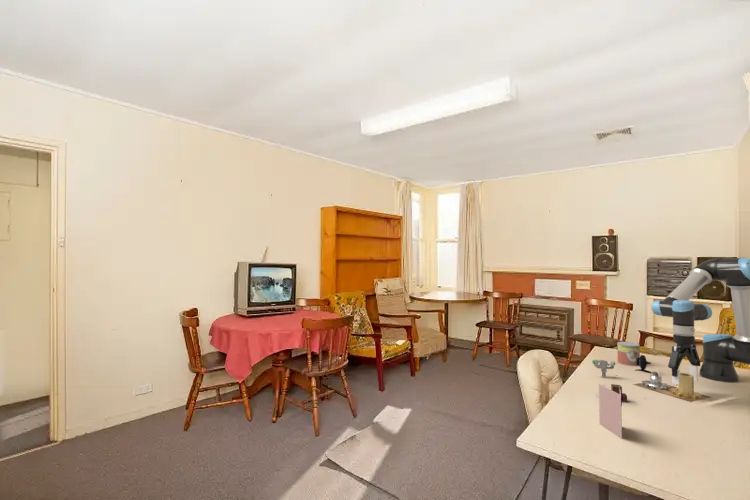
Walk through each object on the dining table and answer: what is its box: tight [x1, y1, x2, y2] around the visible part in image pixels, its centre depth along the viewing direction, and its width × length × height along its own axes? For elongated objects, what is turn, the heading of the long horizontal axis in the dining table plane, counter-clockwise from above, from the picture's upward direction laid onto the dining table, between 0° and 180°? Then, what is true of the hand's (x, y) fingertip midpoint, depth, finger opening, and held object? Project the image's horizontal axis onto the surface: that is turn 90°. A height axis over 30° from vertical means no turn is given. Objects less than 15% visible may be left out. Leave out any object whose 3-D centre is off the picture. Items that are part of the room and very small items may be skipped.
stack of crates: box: [610, 383, 628, 403], centre depth 163 cm, size 15×15×7 cm
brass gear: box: [669, 372, 702, 400], centre depth 165 cm, size 11×11×9 cm
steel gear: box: [641, 374, 671, 390], centre depth 176 cm, size 11×11×5 cm
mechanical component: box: [592, 359, 616, 379], centre depth 189 cm, size 3×10×10 cm, turn 79°
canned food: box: [616, 341, 641, 367], centre depth 221 cm, size 11×11×12 cm
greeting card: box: [598, 383, 624, 439], centre depth 132 cm, size 11×7×15 cm, turn 148°
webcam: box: [634, 354, 653, 375], centre depth 202 cm, size 8×8×10 cm
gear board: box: [632, 371, 711, 403], centre depth 170 cm, size 16×24×8 cm, turn 23°
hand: (685, 381), depth 165 cm, fingers open, 13 cm apart
